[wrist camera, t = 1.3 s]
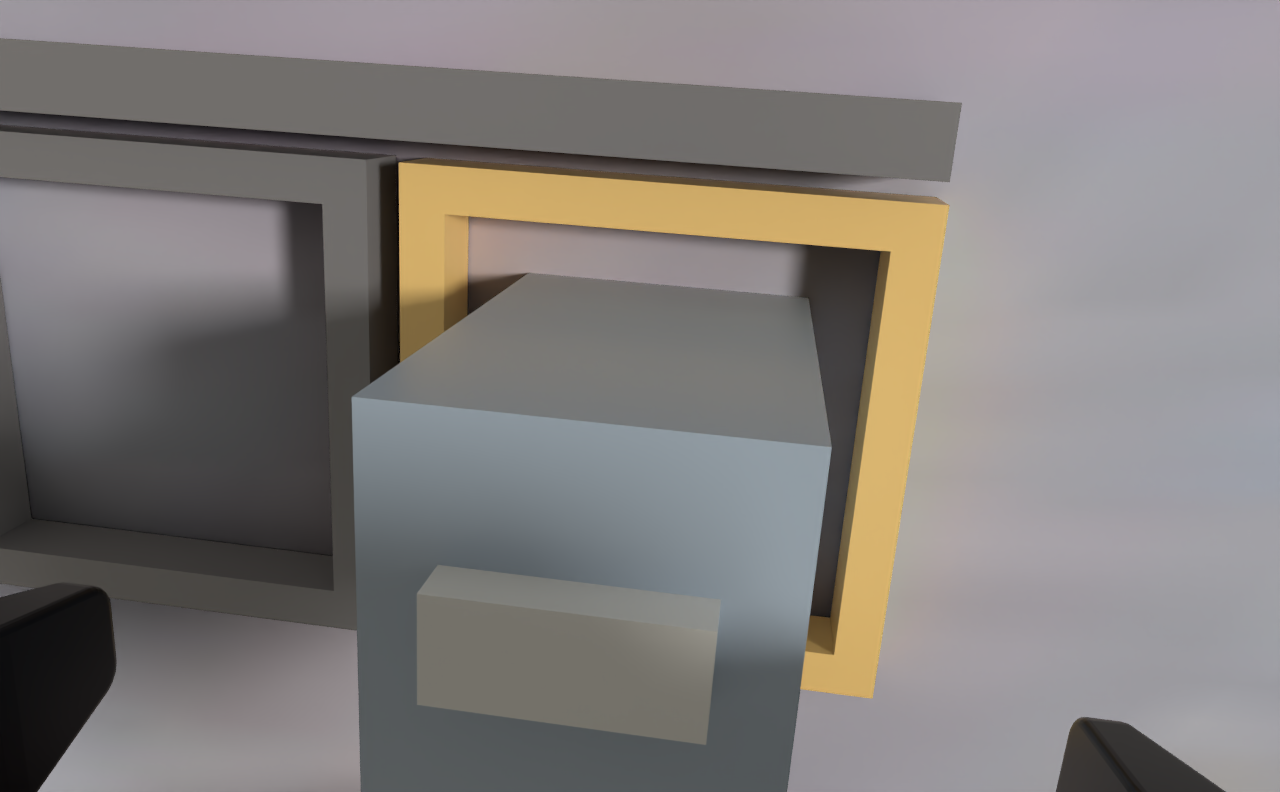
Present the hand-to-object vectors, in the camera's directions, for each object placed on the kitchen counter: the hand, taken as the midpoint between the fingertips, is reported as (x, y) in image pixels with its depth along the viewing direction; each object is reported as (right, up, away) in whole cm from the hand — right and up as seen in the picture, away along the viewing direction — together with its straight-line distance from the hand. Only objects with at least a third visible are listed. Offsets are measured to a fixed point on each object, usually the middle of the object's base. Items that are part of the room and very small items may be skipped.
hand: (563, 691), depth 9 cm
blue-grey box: (+1, +2, +7) cm, 8 cm away
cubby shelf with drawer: (-3, +3, +8) cm, 9 cm away
